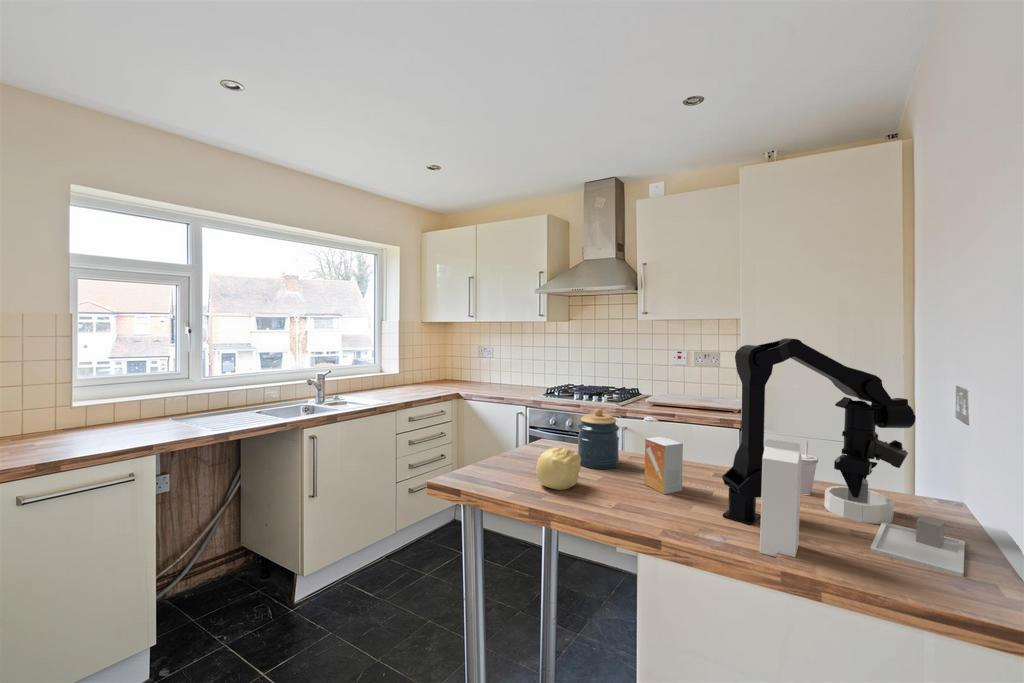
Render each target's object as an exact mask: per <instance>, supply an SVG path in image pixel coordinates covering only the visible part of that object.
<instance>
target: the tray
mask: <svg viewBox="0 0 1024 683" xmlns="http://www.w3.org/2000/svg"><path fill="white" fill-rule="evenodd" d="M965 542H966V541H964V540H961V539H956V538H952V537H949V536H945V535H944V544H943V545H942V546H941V547H940V548H936V547H933V546H929V545H926V544H922V543H919V542H916V528H911V527H906V526H902V525H898V524H895V523H892V522H891V523H886V522H882V523H881V524H880V526H879V529H878V531H877V533H876V534H875V537H874V539H873V541H872V543H871V545H870V548H869V549H870V550H869V551H870V552H871V553H875V554H878V555H882V556H886V557H890V558H893V559H897V560H900V561H904V562H907V563H911V564H915V565H918V566H922V567H926V568H929V569H933V570H937V571H940V572H943V573H947V574H950V575H951V574H952V575H955V576H958V577H962V578H964V570H965V568H964V566H965V546H966V545H965V544H966V543H965Z"/></svg>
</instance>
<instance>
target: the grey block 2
mask: <svg viewBox="0 0 1024 683" xmlns="http://www.w3.org/2000/svg"><path fill="white" fill-rule="evenodd" d="M945 524H946V522H945V521H944V520H939V519H936V518H932V517H928V516H923V515H921V516H919V517H918V518H917V519H916V526H915V527H916V528H915V529H916V542H919V543H922V544H926V545H929V546H933V547H936V548H940V547H941V546H942V545H943V544H944V536H945V529H946V527H945Z"/></svg>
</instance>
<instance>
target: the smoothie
mask: <svg viewBox="0 0 1024 683" xmlns="http://www.w3.org/2000/svg"><path fill="white" fill-rule="evenodd" d="M808 450H809V440H805V449H804V451H805V452H804V453H801V483H800V494H811V495H812V491H813V486H814V480H815V474H816V470H817V464H818V463H819V458H818V457H817V456H814V455H810V454H808V453H809V452H808Z"/></svg>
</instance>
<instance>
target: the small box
mask: <svg viewBox="0 0 1024 683" xmlns="http://www.w3.org/2000/svg"><path fill="white" fill-rule="evenodd" d="M644 440H645V441H644V442H645V444H644V448H645V449H644V476H643V477H644V481H643V483H644V485H645V486H647V487H650V488H651V489H654V490H655V491H657V492H659V493H661V494H663V495H666V494H673V493H678V492H682V491H683V456H684V455H683V454H684V453H683V452H684V451H683V450H684V445H683V443H682V442H679V441H677V440H674V439H671V438H668V437H664V436H656V437H654V436H653V437H647V438H645V439H644Z"/></svg>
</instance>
